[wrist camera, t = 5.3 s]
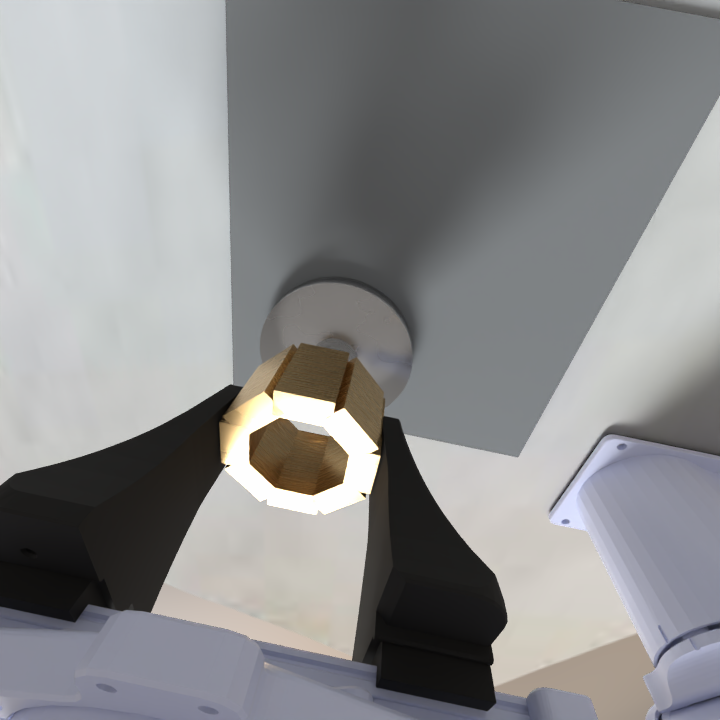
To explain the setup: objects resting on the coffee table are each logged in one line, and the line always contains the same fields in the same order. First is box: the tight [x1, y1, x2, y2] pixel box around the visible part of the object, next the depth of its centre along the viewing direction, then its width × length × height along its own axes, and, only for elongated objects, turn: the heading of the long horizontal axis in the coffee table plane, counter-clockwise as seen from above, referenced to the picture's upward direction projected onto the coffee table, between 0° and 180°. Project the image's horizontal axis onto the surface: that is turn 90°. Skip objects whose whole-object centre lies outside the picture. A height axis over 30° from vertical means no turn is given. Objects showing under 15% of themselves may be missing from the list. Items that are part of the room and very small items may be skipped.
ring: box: [219, 343, 385, 515], centre depth 13 cm, size 5×5×3 cm
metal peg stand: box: [260, 277, 413, 408], centre depth 17 cm, size 8×8×4 cm
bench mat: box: [226, 0, 720, 457], centre depth 17 cm, size 18×20×1 cm
